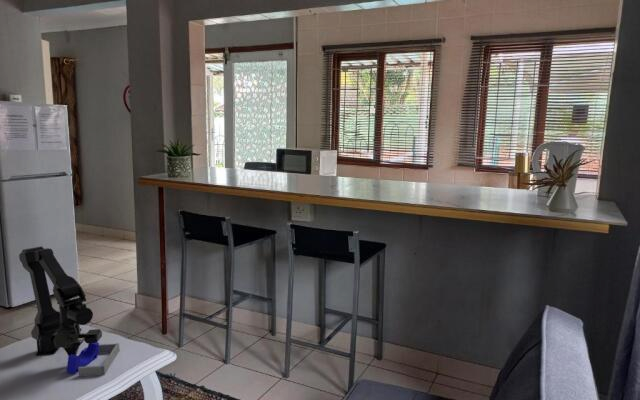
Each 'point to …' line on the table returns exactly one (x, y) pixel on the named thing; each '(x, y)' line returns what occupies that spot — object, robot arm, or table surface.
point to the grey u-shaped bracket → (103, 368)
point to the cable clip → (82, 358)
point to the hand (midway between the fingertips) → (73, 360)
